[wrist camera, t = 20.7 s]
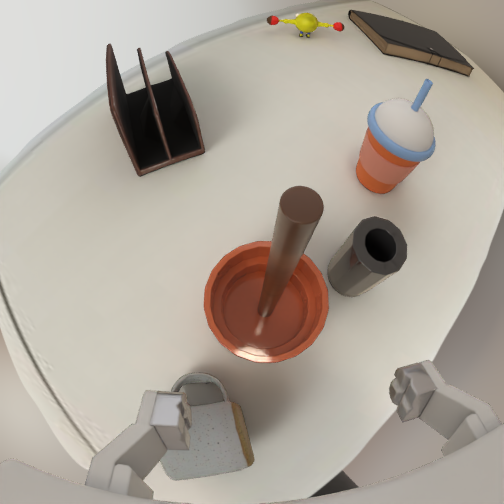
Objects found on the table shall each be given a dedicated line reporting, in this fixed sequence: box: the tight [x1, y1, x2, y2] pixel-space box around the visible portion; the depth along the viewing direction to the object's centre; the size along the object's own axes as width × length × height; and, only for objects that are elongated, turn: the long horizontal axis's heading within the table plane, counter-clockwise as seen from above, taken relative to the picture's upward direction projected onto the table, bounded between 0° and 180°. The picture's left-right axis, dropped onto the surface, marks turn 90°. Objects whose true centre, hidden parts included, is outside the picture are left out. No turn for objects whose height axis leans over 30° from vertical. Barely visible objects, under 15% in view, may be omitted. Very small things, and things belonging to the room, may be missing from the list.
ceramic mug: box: [160, 373, 254, 480], centre depth 23 cm, size 11×8×8 cm
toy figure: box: [267, 13, 344, 38], centre depth 50 cm, size 18×6×7 cm, turn 93°
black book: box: [348, 10, 474, 77], centre depth 56 cm, size 33×4×24 cm
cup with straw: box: [356, 79, 435, 194], centre depth 30 cm, size 9×9×18 cm
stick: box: [258, 186, 324, 317], centre depth 21 cm, size 2×2×22 cm
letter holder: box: [106, 44, 205, 176], centre depth 35 cm, size 10×20×14 cm, turn 22°
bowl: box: [204, 241, 329, 363], centre depth 29 cm, size 11×11×6 cm
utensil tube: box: [328, 216, 407, 297], centre depth 29 cm, size 6×6×9 cm
